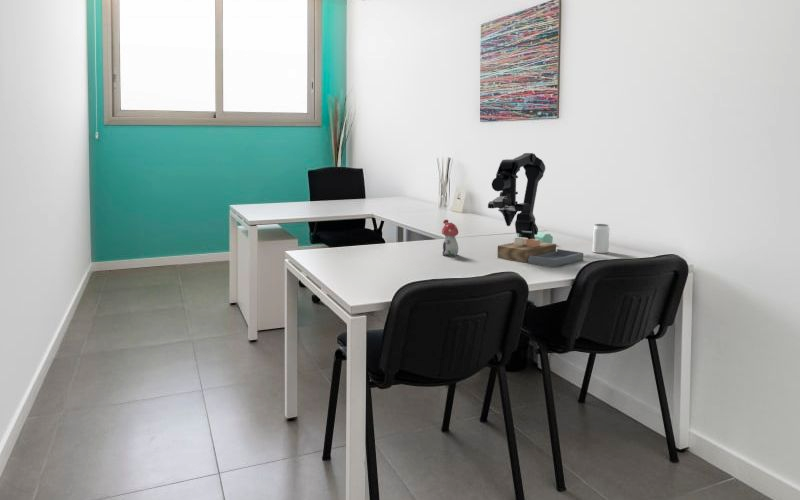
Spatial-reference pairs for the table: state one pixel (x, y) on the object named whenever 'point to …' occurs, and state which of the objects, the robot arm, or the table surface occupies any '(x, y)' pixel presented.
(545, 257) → the box
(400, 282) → the table surface
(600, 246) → the can
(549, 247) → the walnut plate
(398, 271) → the table surface
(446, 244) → the decorative ornament
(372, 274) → the table surface
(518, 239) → the cream tile
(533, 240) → the terracotta tile
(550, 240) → the container
